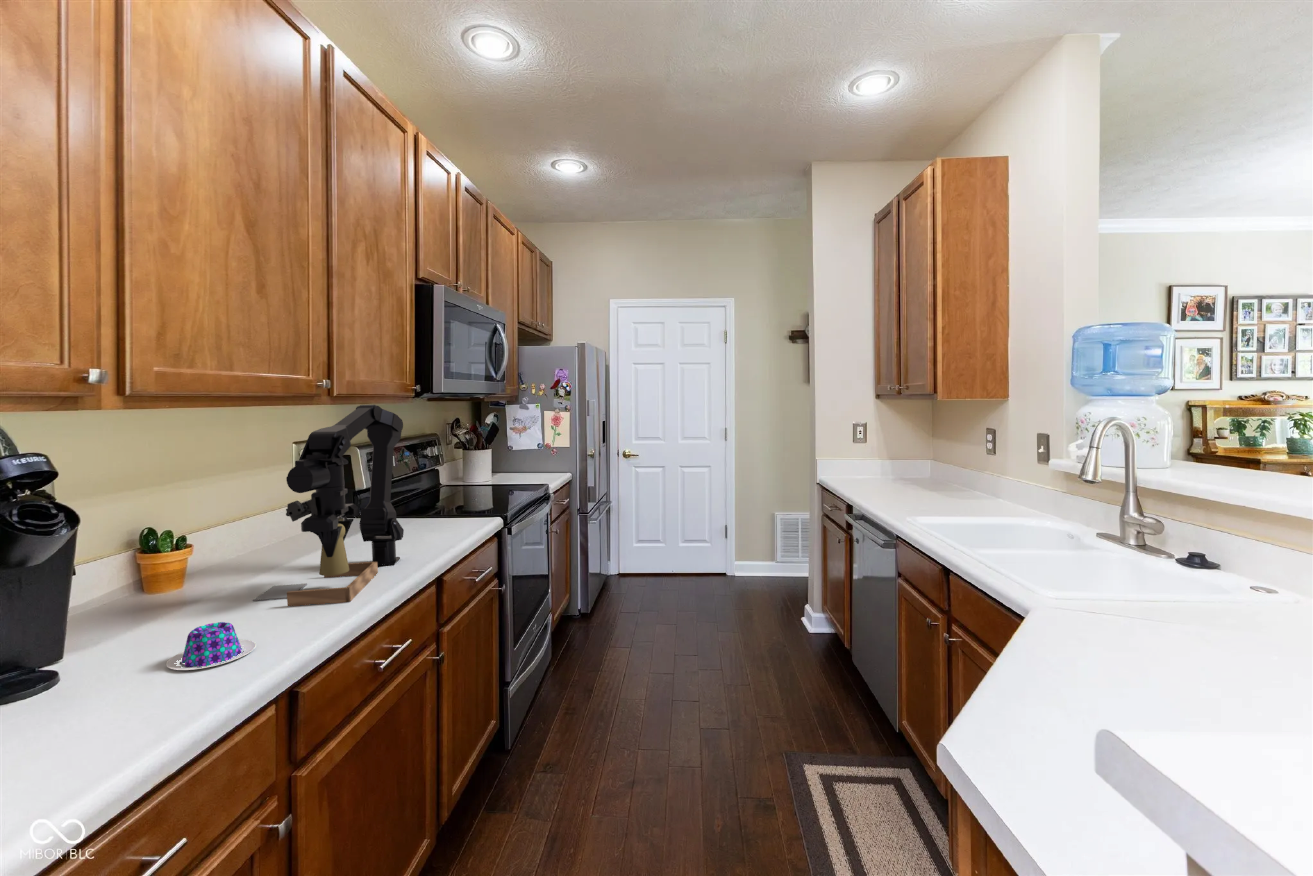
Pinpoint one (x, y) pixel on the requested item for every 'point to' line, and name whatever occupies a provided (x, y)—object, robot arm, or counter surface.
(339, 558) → the cork
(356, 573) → the wooden u-shaped frame
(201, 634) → the patterned hat
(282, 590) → the grey mat
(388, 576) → the counter surface
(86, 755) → the counter surface
